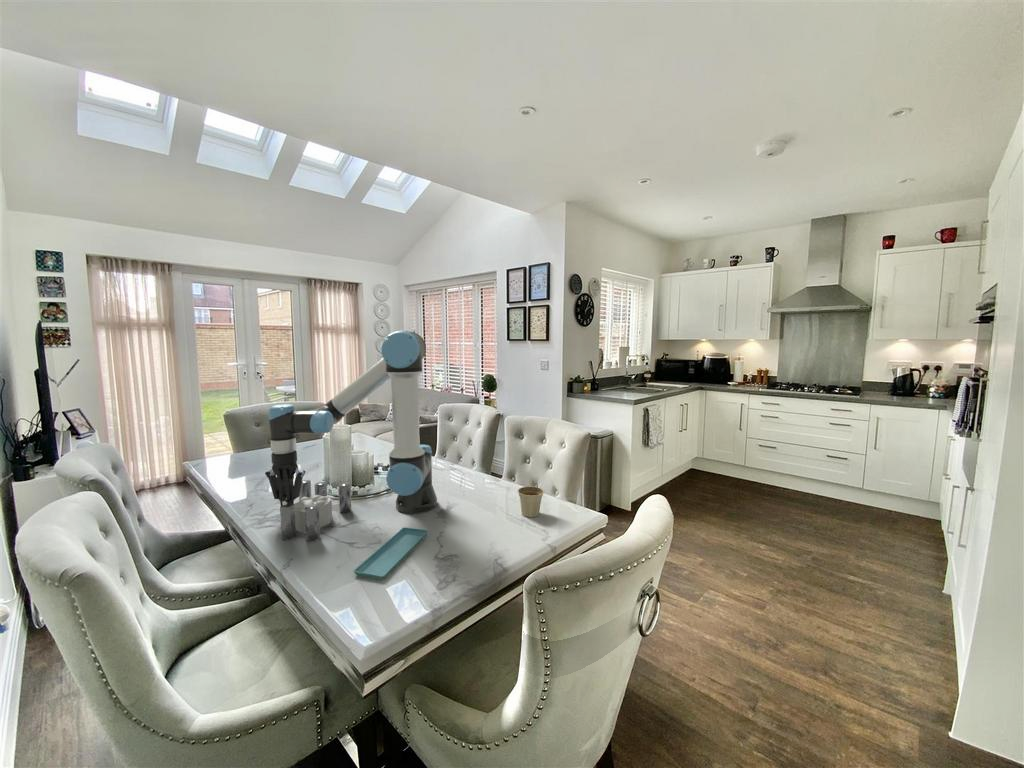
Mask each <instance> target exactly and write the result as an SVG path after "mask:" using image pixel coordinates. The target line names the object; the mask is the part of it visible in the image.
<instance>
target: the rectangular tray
mask: <svg viewBox="0 0 1024 768" xmlns="http://www.w3.org/2000/svg"><path fill="white" fill-rule="evenodd" d="M428 534H429V530H428V529H422V528H421V529H420V528H413V527H412V528H411V527H406V526H403V527H402V528H401V529H400V530H399V531H397V532H396V533H395V534H394V535H393V536H392V537H390V538H389V539H388V540H387V541H386V542H385V543H383V544H382V545H381V546H380V547H379V548H378V549H376V551H374V552H373V553H371V555H370V556H368V557H367V558H366V559H365V560H364V561H363V562H362V563H360V564H359V565H358V566H357V567H355V569H353V573H354V574H355V575H356V576H357V577H361V578H366V579H372V580H378V581H384V580H385V579H386V578H387V577H388V576H389V575H390V574H391V573H392V572H394V570H395V569H396V568H397V567H398V566H399V565H400V564H401V563H402V562H403V561H404V560H405V559H407V558H408V556H409V555H410V554H411V553H412V552H413V551H414V550H415V549H416V548H417V547H418V546H419V545H420V544H421V543H422V542H423V541H424V540H425V539H426V538H427V535H428Z"/></svg>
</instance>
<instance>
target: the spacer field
mask: <svg viewBox="0 0 1024 768" xmlns="http://www.w3.org/2000/svg"><path fill="white" fill-rule="evenodd" d="M311 482H312V481H311V480H310V479H302V484H301V489H300V495H299V497H298V498H299V499H298V502H299V501H300V499H301V498H303V497H308V498H310V497H311V498H312V485H311V484H312V483H311ZM351 488H352V486H351V482H342V483H339V484H338V503H339V505H338V506H339V513H340V514H348V513H351V512H352V510H353V508H352V492H351V491H352V489H351ZM316 495H320V496H327V497H328V483H327V482H326V481H320V482H319V481H318V482H316V483H314V496H316ZM294 504H295V503H294ZM294 504H287V505H283V506H281V505H280V507H279V511H280V513H279V515H280V530H281V531H280V533H281V534H280V535H281V540H282V539H283V540H282V541H290V540H289V539H291V540H293V538H294V537H295V538H296V537H297V531H296V524H295V505H294ZM305 525H306V533H305V540H306V541H307V542H315V540H316V541H318V540H320V539H321V528H320V518H319V506H318V505H310V506H307V507H305ZM295 538H294V539H295ZM319 538H320V539H319ZM317 539H318V540H317Z"/></svg>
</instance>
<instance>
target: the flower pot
mask: <svg viewBox="0 0 1024 768" xmlns="http://www.w3.org/2000/svg"><path fill="white" fill-rule="evenodd" d="M517 493H518V496H519V500H520V502H519V503H520V509H521V515H522V516H523V517H528V518H535V517H538V516H539V514H540V511H541V502H542V499H543V495H544V493H545V490H544V489H543V488H541V487H537V486H533V485H531V486H530V485H529V486H522V487H520V488H518V489H517Z"/></svg>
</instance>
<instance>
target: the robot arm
mask: <svg viewBox="0 0 1024 768" xmlns="http://www.w3.org/2000/svg"><path fill="white" fill-rule="evenodd" d="M382 341H383V342H382V344H381V348H380V349H381V350H380V353H381V356H382V358H381V359H379V361H377V362H376V363H375V364H373V365H372V366H371V367H370V368H369V369H367V370H366V371H364V373H362V374H361V375H359V377H358V378H356V379H354V380H353V381H352V382H351V383H350V384H349V385H347V386H346V387H344V388H343V390H341V391H340V392H339V393H337V394H336V395H335V396H334V397H332V398H331V399H330V400H329V401H328V402H326V403H325V404H324V405H323V406H320V407H317V408H314V409H312V410H296V409H295V405H294V404H288V403H287V404H286V403H285V404H284V403H283V404H276V405H272V406H270V407H269V409H268V423H269V424H268V425H269V432H270V434H269V435H270V439H269V440H270V451H271V452H272V453H271V456H270V457H271V464H272V466H271V469H269V470H267V471H265V473H264V475H265V476H266V478H267V479H268V482H269V484H270V485H269V486H270V489H271V492H272V496H273V498H274V500H279V502H280V507H281V506H283V505H287V504H295V503H294V501H295V500H296V499H298V498H299V495H300V489H301V484H302V481H303V477H304V476H305V474H306V471H305V470H301V469H299V465H298V463H297V462H298V450H296V449H297V434H299V435H300V434H316V435H321V434H328V433H330V432H331V431H332V429H333V427H334V425H337V424H338V423H339V422H340V421H341V420H342V419H343V418H344V417H345V416H346V415H347V414H348V413H350V412H351V411H352V410H353V409H355V408H356V407H358V406H359V405H360V404H361V403H362V402H364V401H365V400H367V398H369V397H370V396H371V395H373V394H374V393H375V392H376V391H378V390H379V389H380V388H381V387H383V386H384V385H385V384H386V383H387V382H388V381H390V384H391V409H392V410H391V411H392V415H391V416H392V436H393V437H392V438H393V439H392V440H393V449H392V450H391V451H390V452H389V457H388V459H389V469H388V470H387V473H386V477H385V478H386V484H387V487H388V488H389V489H390V490H391V492H393V493H394V494H397V497H396V499H395V508H396V510H397V511H399V512H401V513H404V514H418V513H424V512H429V511H431V510H433V509H435V508H436V507H437V505H438V497H437V494H436V491H435V488H434V486H433V469H432V468H433V463H432V462H433V460H432V459H433V457H432V455H433V453H432V447H431V446H430V445H428V444H420V443H421V440H420V413H419V412H420V411H419V410H420V409H419V408H420V407H419V405H420V404H419V376H420V375H421V374H422V373H423V359H424V357H425V356H426V352H427V345H426V341H425V340H424V339H423V337H422V336H421V335H420V334H418V333H416V332H413V331H409V330H397V331H394V332H392V333H390V334H388V335H387V336H386V337H385V339H384V340H382Z"/></svg>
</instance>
